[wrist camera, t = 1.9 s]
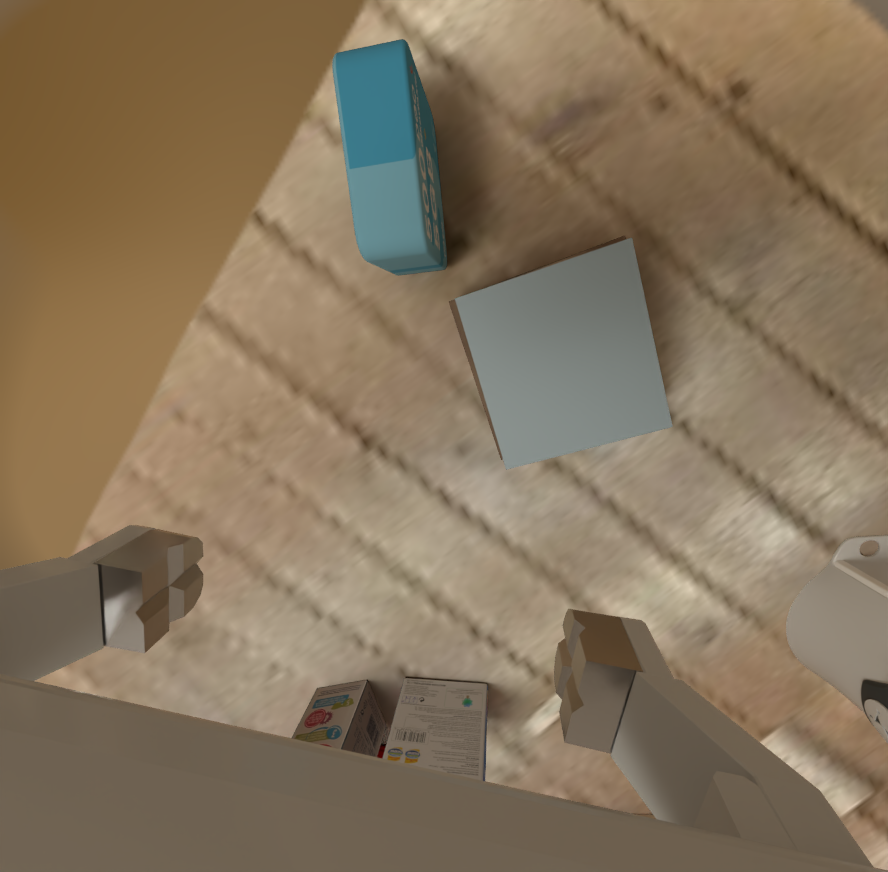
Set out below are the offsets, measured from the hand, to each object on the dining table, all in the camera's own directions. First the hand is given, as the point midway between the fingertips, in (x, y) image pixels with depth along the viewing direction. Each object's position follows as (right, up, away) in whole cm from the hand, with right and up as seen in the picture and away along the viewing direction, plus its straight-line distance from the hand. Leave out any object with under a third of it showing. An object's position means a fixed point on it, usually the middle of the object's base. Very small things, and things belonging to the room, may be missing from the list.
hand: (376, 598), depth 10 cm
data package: (-1, +24, +29) cm, 37 cm away
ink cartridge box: (+2, -27, +41) cm, 49 cm away
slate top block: (+10, +10, +26) cm, 30 cm away
